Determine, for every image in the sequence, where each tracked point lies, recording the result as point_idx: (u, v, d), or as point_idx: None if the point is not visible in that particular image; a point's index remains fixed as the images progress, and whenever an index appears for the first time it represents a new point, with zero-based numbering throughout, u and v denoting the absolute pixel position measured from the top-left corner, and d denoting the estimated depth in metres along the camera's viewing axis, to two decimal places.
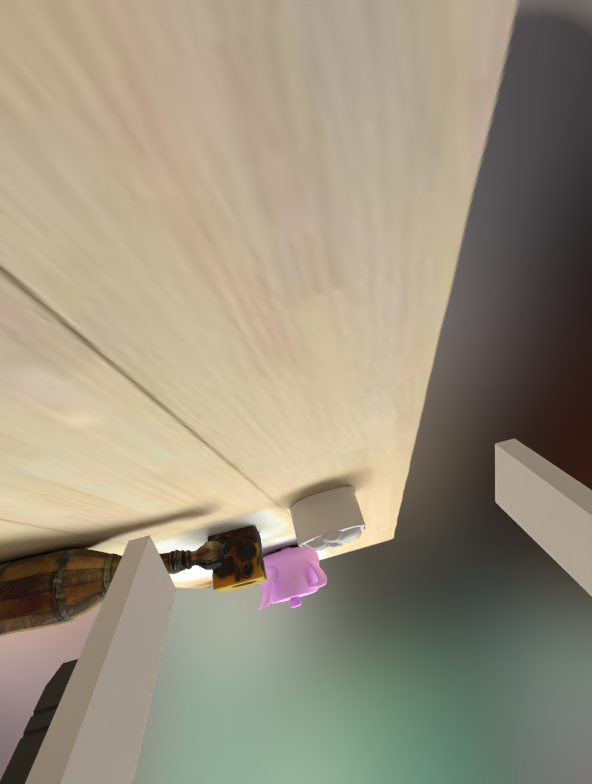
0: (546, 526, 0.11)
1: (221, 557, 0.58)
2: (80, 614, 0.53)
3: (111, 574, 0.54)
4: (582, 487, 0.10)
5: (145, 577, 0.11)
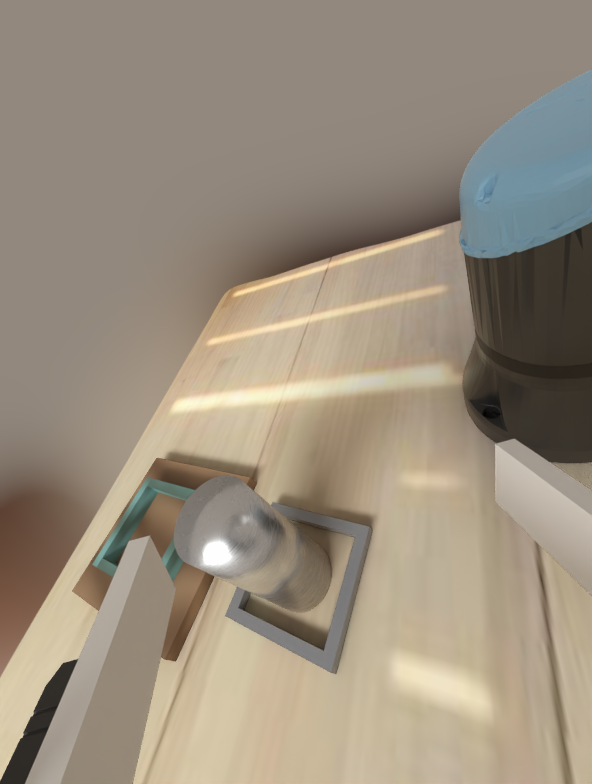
0: (546, 526, 0.11)
1: None
2: None
3: None
4: (582, 487, 0.10)
5: (144, 577, 0.11)
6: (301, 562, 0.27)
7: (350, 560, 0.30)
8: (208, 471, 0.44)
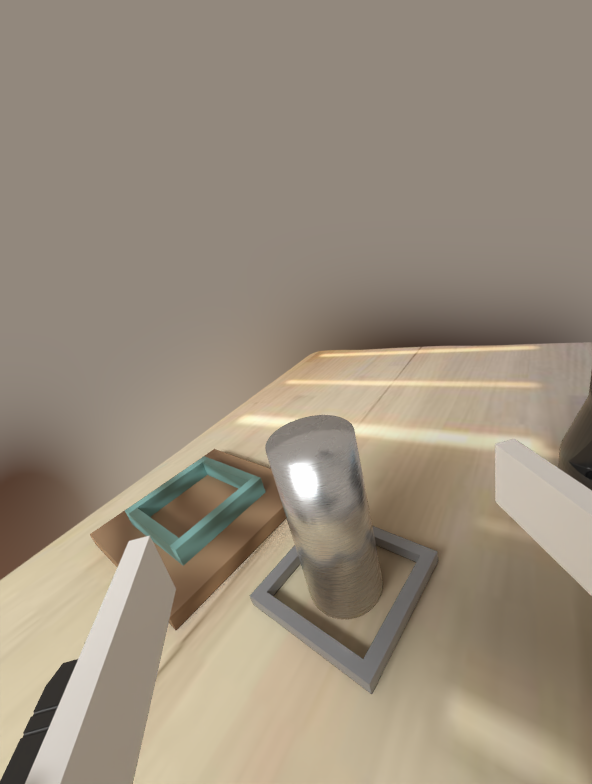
0: (546, 526, 0.11)
1: None
2: None
3: None
4: (582, 487, 0.10)
5: (144, 577, 0.11)
6: (368, 540, 0.24)
7: (410, 577, 0.27)
8: (264, 469, 0.43)
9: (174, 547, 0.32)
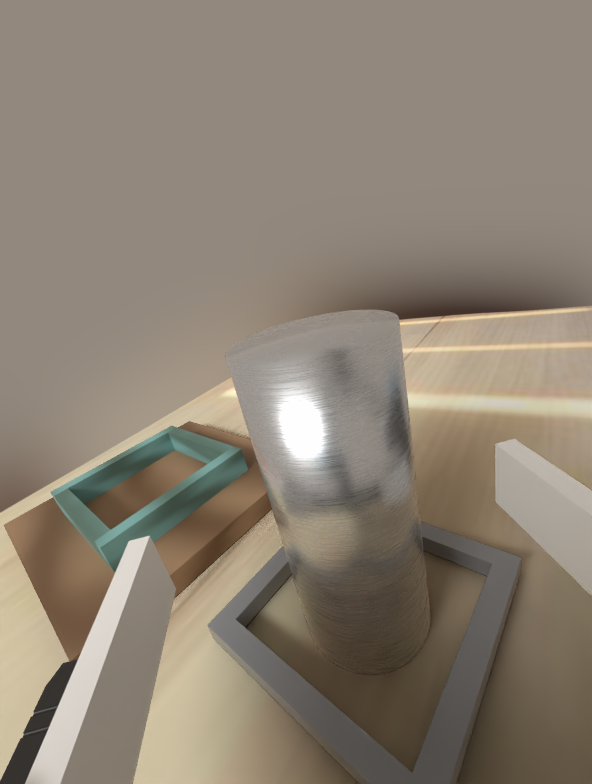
0: (546, 526, 0.11)
1: None
2: None
3: None
4: (582, 487, 0.10)
5: (145, 577, 0.11)
6: (415, 533, 0.13)
7: (482, 601, 0.15)
8: (250, 442, 0.32)
9: (99, 543, 0.21)
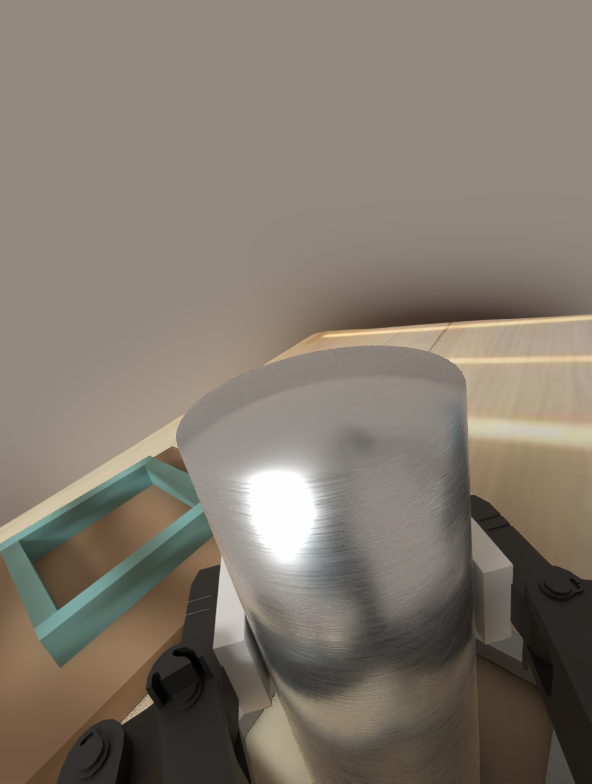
0: None
1: None
2: None
3: None
4: None
5: None
6: (474, 686, 0.09)
7: (556, 753, 0.11)
8: None
9: (40, 633, 0.16)
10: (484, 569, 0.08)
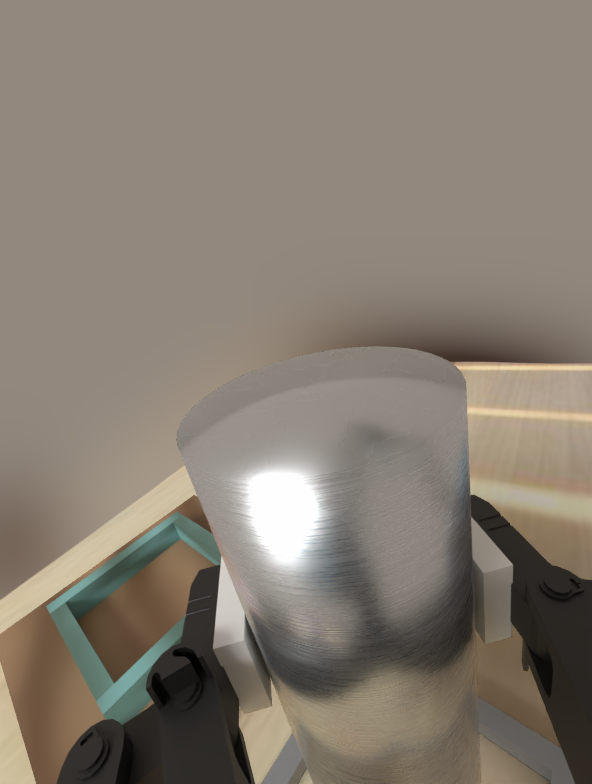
0: None
1: None
2: None
3: None
4: None
5: None
6: (474, 687, 0.09)
7: None
8: None
9: (102, 707, 0.18)
10: (484, 569, 0.08)
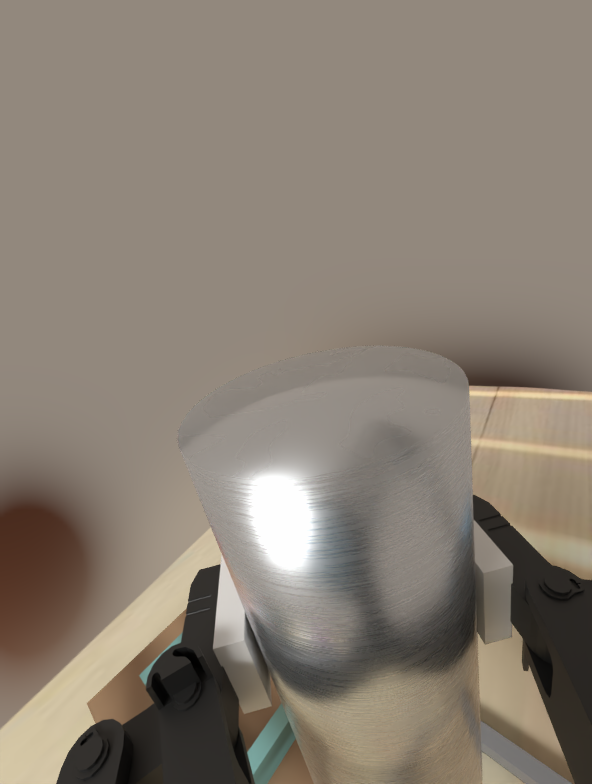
0: None
1: None
2: None
3: None
4: None
5: None
6: (475, 687, 0.09)
7: None
8: None
9: None
10: (484, 569, 0.08)
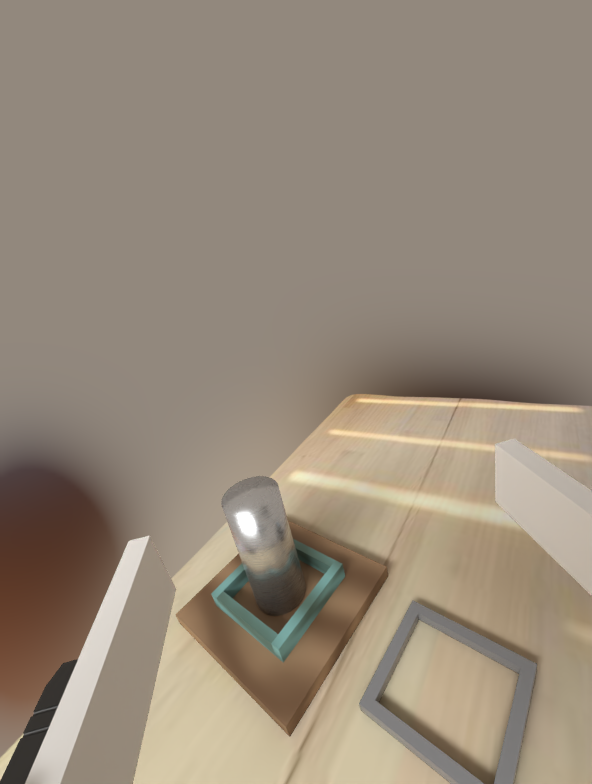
0: (546, 526, 0.11)
1: None
2: None
3: None
4: (582, 487, 0.10)
5: (144, 577, 0.11)
6: (290, 561, 0.37)
7: (517, 694, 0.28)
8: (337, 546, 0.45)
9: (276, 646, 0.33)
10: None
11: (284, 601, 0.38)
